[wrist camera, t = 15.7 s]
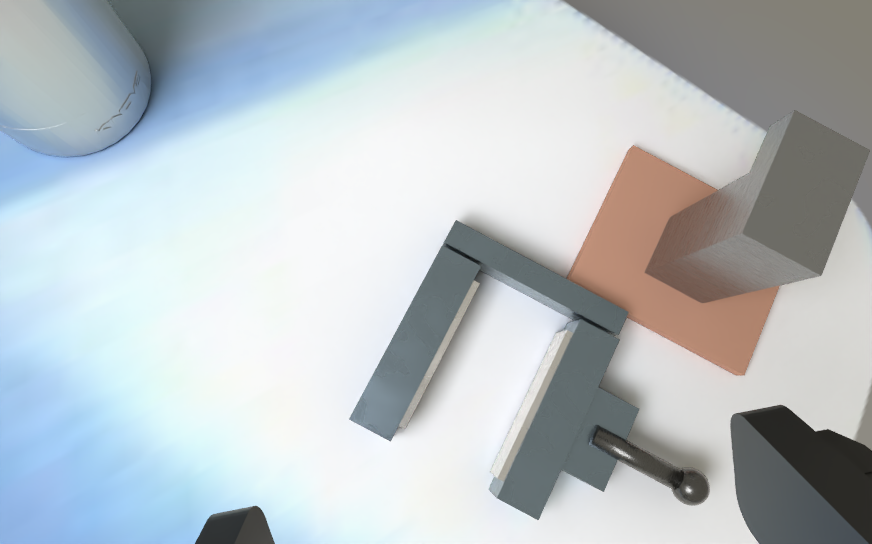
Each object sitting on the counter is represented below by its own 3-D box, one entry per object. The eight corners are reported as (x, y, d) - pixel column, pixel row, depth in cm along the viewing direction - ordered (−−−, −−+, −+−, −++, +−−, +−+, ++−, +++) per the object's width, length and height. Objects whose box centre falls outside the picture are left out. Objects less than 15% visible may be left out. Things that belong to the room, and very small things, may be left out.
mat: (564, 283, 36) (568, 281, 36) (628, 149, 38) (633, 145, 38) (736, 375, 36) (744, 375, 36) (791, 236, 38) (800, 233, 38)
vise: (351, 416, 34) (348, 419, 31) (451, 228, 36) (458, 215, 33) (652, 576, 34) (677, 595, 31) (731, 377, 36) (762, 377, 33)
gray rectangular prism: (644, 272, 36) (741, 233, 26) (686, 180, 37) (794, 109, 28) (701, 303, 36) (821, 275, 26) (742, 209, 37) (870, 150, 28)
